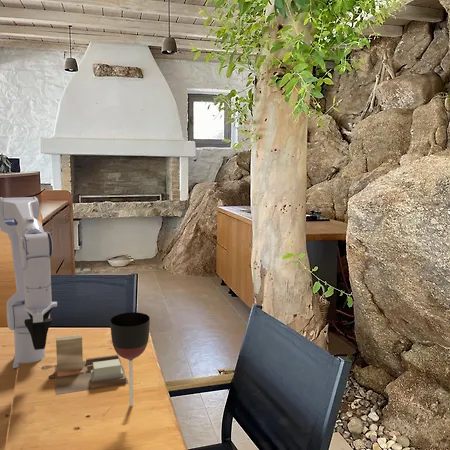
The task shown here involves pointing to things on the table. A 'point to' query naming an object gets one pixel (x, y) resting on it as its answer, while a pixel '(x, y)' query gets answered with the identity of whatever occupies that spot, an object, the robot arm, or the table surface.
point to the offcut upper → (106, 367)
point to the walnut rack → (85, 377)
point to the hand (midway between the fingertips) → (40, 342)
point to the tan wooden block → (69, 353)
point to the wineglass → (130, 339)
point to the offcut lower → (106, 376)
